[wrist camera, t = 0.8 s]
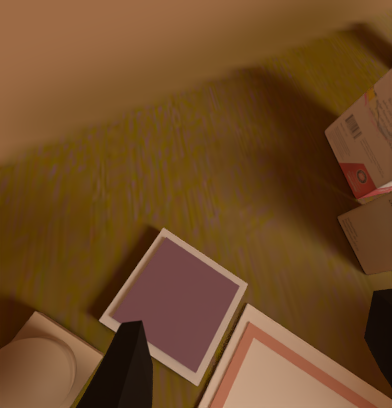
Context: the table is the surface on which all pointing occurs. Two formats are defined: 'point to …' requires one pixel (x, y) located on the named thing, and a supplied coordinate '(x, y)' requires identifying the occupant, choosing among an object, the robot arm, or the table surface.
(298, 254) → the table surface
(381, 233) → the skincare box
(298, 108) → the table surface
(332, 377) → the marked sheet
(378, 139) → the ink cartridge box
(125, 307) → the ink pad
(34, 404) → the stamp
